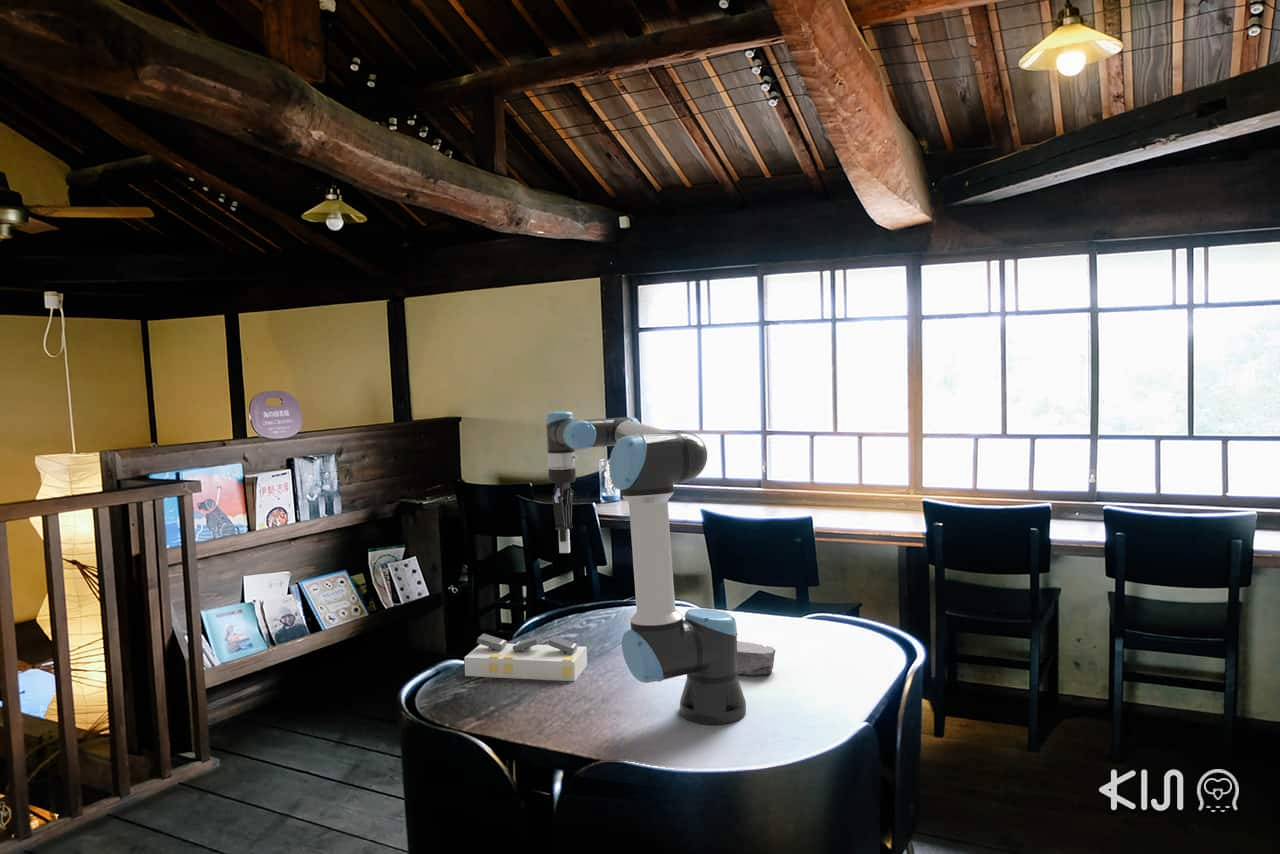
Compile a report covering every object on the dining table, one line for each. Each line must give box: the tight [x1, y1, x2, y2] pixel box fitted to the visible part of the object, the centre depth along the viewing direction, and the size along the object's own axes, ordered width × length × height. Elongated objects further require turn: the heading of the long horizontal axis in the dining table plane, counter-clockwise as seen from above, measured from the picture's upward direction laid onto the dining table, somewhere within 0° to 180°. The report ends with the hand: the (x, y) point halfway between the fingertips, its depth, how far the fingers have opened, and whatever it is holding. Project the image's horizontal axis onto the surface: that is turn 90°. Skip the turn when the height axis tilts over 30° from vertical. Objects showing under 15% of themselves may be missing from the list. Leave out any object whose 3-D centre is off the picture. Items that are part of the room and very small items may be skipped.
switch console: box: [463, 643, 588, 682], centre depth 216 cm, size 12×30×6 cm, turn 78°
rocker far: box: [476, 633, 508, 651], centre depth 219 cm, size 4×7×2 cm, turn 78°
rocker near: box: [547, 635, 579, 654], centre depth 215 cm, size 4×7×2 cm, turn 79°
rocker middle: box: [512, 634, 543, 652], centre depth 217 cm, size 4×7×2 cm, turn 79°
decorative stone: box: [737, 640, 776, 678], centre depth 211 cm, size 15×7×10 cm
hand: (564, 552), depth 225 cm, fingers closed
